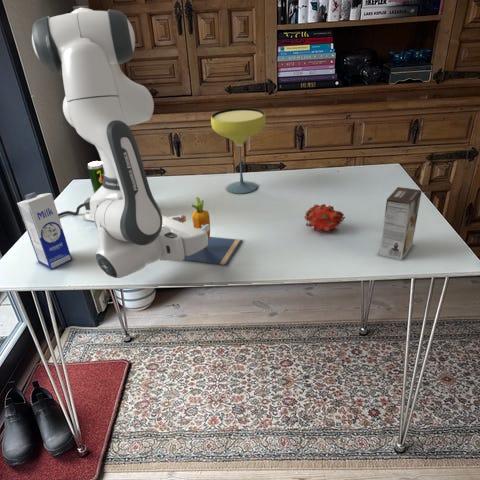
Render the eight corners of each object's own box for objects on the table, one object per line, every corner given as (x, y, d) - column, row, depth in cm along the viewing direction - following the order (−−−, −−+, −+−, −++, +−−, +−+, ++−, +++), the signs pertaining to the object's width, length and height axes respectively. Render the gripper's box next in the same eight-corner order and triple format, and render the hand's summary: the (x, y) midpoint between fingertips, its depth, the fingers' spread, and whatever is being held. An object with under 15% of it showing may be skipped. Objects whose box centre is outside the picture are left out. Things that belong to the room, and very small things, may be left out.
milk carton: (50, 270, 132) (27, 201, 120) (37, 262, 135) (13, 195, 123) (72, 259, 136) (52, 192, 124) (59, 252, 140) (38, 187, 127)
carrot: (210, 253, 133) (205, 202, 124) (193, 252, 134) (187, 202, 125) (214, 244, 137) (209, 195, 128) (198, 244, 138) (192, 194, 129)
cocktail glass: (271, 194, 165) (270, 118, 150) (220, 200, 163) (213, 124, 148) (261, 176, 179) (259, 105, 164) (214, 181, 178) (208, 110, 163)
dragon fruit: (300, 233, 144) (339, 237, 144) (305, 228, 135) (346, 233, 136) (303, 205, 144) (342, 209, 144) (308, 198, 135) (349, 203, 135)
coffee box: (389, 240, 134) (397, 185, 124) (412, 245, 131) (422, 189, 121) (378, 255, 128) (386, 198, 118) (402, 260, 125) (412, 203, 115)
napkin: (165, 258, 133) (165, 257, 133) (185, 235, 144) (184, 234, 144) (226, 265, 128) (226, 263, 128) (241, 241, 139) (241, 239, 139)
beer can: (92, 198, 171) (83, 165, 164) (100, 193, 175) (92, 160, 168) (105, 200, 170) (97, 166, 162) (112, 194, 174) (105, 161, 166)
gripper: (133, 241, 129) (172, 222, 137) (184, 264, 117) (223, 242, 125) (129, 219, 125) (169, 202, 133) (181, 241, 114) (221, 220, 122)
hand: (195, 221), depth 129 cm, fingers open, 8 cm apart
